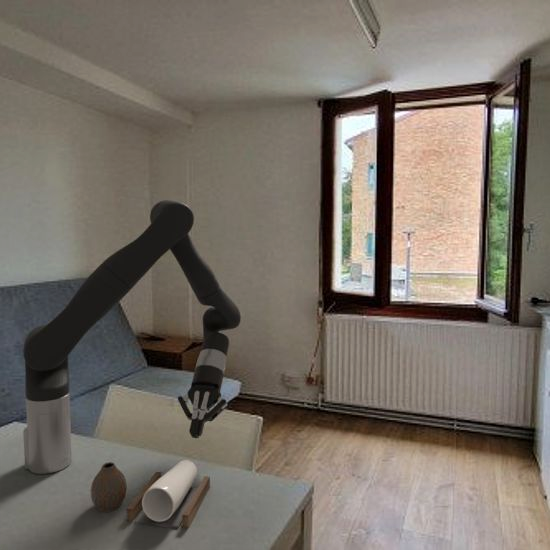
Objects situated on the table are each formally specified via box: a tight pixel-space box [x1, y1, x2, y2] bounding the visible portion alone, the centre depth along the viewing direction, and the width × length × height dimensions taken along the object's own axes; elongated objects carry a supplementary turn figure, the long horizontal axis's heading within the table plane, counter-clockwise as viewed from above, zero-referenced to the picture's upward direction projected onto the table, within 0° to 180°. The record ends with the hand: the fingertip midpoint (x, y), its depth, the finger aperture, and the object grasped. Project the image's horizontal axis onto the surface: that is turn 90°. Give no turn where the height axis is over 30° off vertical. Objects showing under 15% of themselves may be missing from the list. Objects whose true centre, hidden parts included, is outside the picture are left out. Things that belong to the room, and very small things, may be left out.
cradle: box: [126, 471, 211, 529], centre depth 96 cm, size 12×14×2 cm
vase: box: [90, 461, 128, 513], centre depth 94 cm, size 7×7×9 cm
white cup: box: [142, 459, 198, 522], centre depth 96 cm, size 7×7×15 cm
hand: (194, 436), depth 110 cm, fingers closed
